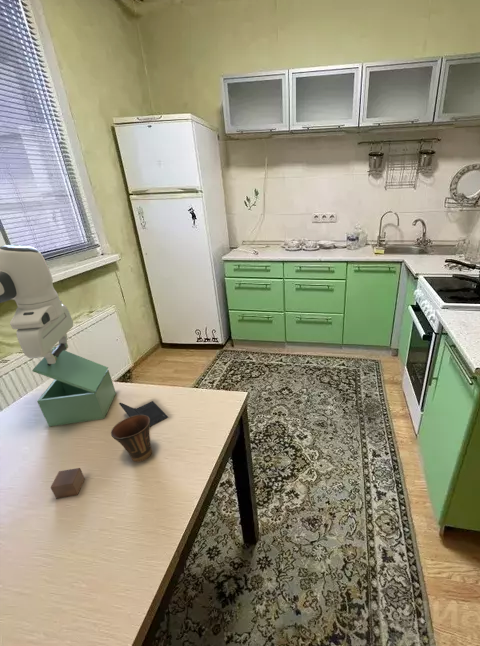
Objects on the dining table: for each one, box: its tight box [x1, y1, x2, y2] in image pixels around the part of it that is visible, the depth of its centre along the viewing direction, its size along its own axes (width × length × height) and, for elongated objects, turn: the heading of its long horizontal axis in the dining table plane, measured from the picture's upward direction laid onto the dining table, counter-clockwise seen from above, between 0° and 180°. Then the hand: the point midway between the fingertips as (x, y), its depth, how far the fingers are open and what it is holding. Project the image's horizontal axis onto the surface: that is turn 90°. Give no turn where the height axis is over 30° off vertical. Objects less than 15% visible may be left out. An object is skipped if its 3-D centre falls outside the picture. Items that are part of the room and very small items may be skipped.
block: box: [50, 467, 86, 499], centre depth 72 cm, size 4×4×4 cm
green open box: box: [36, 369, 117, 427], centre depth 96 cm, size 15×13×10 cm
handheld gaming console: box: [118, 400, 169, 428], centre depth 93 cm, size 12×7×10 cm
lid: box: [32, 343, 109, 393], centre depth 91 cm, size 15×13×5 cm
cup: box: [110, 415, 153, 463], centre depth 80 cm, size 9×9×10 cm
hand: (58, 355), depth 89 cm, fingers closed on lid, 6 cm apart
